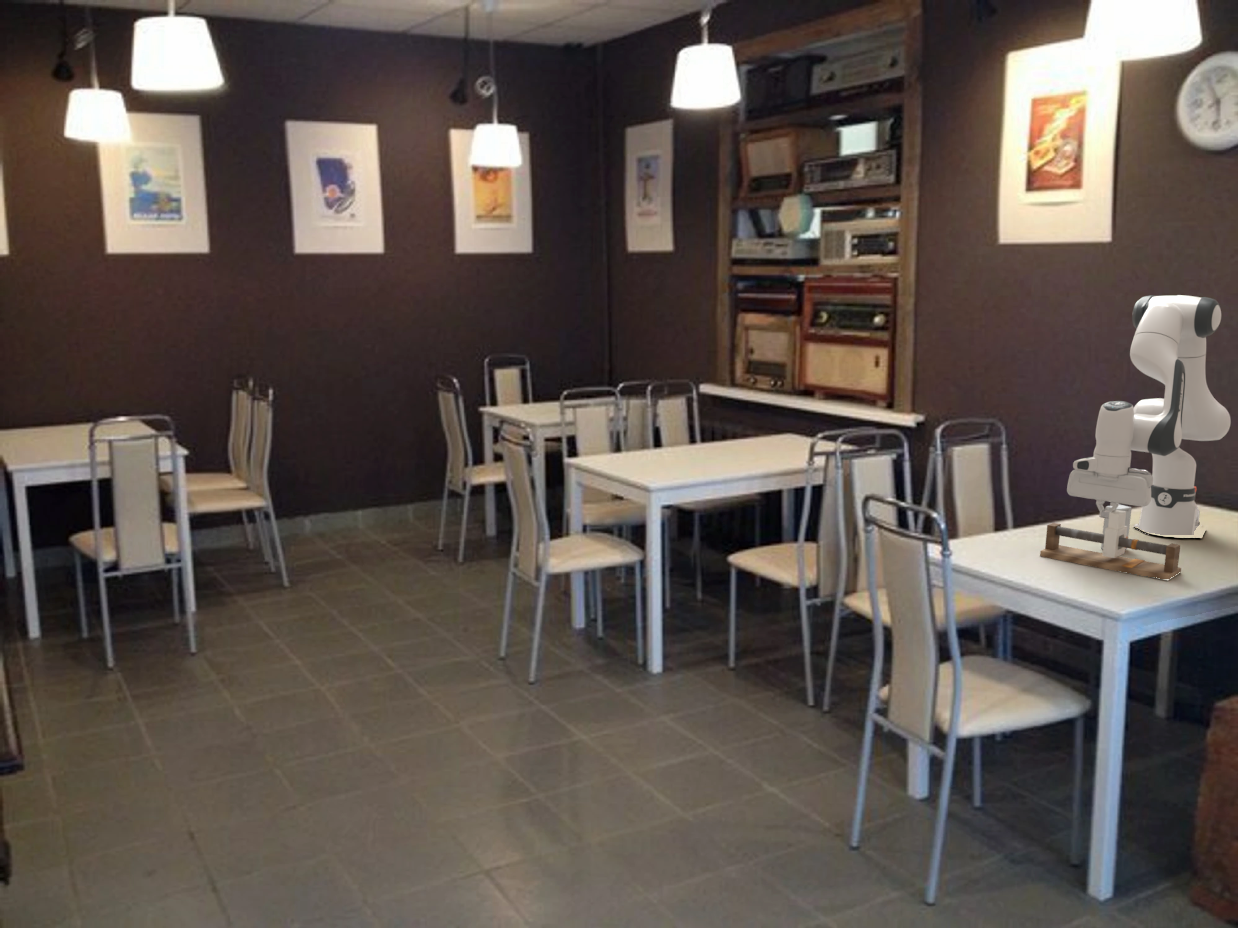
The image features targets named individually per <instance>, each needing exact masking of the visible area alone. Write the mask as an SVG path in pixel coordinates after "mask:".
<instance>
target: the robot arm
mask: <svg viewBox="0 0 1238 928" xmlns="http://www.w3.org/2000/svg"><path fill="white" fill-rule="evenodd" d="M1221 310H1222V309H1221V305H1220V303H1219V302H1218V301H1217V299H1215V298H1211V297H1207V296H1203V297H1199V296H1192V295H1187V294H1185V295H1181V294H1177V295H1145V296H1142V297H1141V298H1140V299H1138V300H1137V301H1136V302H1135V304H1134V306H1133V310H1132V313H1131V314H1132V316H1131V320H1132V325H1133V327H1134V328H1135V329H1136V330H1135V332H1134V335H1133V339H1132V342H1131V345H1130V351H1129V357H1130V361H1131V363H1132V365H1134V367H1135V368H1136V369H1137V370H1139V371H1140V373H1142V374H1144V375H1145V376H1148V377H1150V378H1152V379H1153V380H1154V379H1155V380H1156V381H1158V382H1159V383H1162V384H1163V385H1164V386H1165V387H1164V388H1165V389H1164V396H1163V397H1164V398H1161V397H1159V398H1157V397H1155V398H1145V399H1141V400H1139V401H1138V402H1137V403H1136V404H1135V405H1133V404H1132V403H1130V402H1128V401H1123V400H1115V401H1114V400H1112V401H1107V402H1105V403H1103V404H1102V405H1101V406H1100V409H1099V412H1098V416H1097V421H1096V427H1095V436H1094V437H1095V440H1096V441H1095V443H1096V444H1095V447H1094V450H1093V454H1092V455H1093V456H1088V457H1084V458H1080V459H1076V460H1074V462H1072V467H1073V470H1072V471H1071V472H1070V473H1069V477H1068V480H1067V486H1066V487H1067V488H1066V492H1067V494H1068V495H1069V496H1071V497H1076V498H1077V497H1078V498H1084V499H1089V500H1090V499H1091V500H1096V502H1095V505H1096V507H1097V509H1098V511H1099V518H1100V519H1101V518H1102V519H1104V518H1107V519H1109V513H1110V512H1113V511H1115V510H1116V508H1117V507H1118V506H1119V505H1126V506H1128V505H1129V506H1134V507H1141V509H1140V516H1139V521H1138V523H1134V524H1133V526H1134V527H1138V528H1139V529H1141V530H1144V531H1145V532H1149V533H1155V534H1160V535H1194V531H1195V530H1196V528H1197V527H1198V526H1199V525H1200V512H1201V511H1200V509H1199V507H1198V505H1197V504H1196V501H1195V500H1196V495H1197V494H1196V493H1197V490H1198V489H1197V486H1195V480H1196V471H1197V462H1196V460H1195V458H1194V457H1193V456H1192V455H1191V454H1190V453H1188V452H1187V451H1185V450H1183V449H1182V448H1180V447H1181V443H1182V440H1188V441H1189V440H1190V441H1199V442H1209V441H1211V442H1212V441H1219V440H1221V439H1223V437H1225V436H1226V435H1227V433H1228V432H1229V431H1230V427H1231V423H1232V422H1231V414H1230V413H1229V411H1228V409H1227V408H1226V406H1223V404H1221V403H1220V402H1218V400H1216V398H1214V396H1213V394H1212V393H1211V391H1210V389H1209V387H1208V383H1207V377H1206V358H1207V337H1208V336H1211V335H1213V333H1215V332H1216V331H1217V330H1218V329H1219V327H1220V326H1219V325H1220V323H1221V320H1222V311H1221ZM1132 451H1136V452H1141V453H1144V452H1145V453H1149V454H1151V456H1152V473H1151V472H1150V471H1148V470H1147V469H1139V468H1134V467H1133V468H1132V467H1131V461H1132ZM1105 502H1110V503H1109V506H1113V507H1112V508H1111V509H1110V511H1106V510H1105V507H1104V504H1105Z"/></svg>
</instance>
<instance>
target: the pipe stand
mask: <svg viewBox="0 0 1238 928" xmlns="http://www.w3.org/2000/svg"><path fill="white" fill-rule="evenodd" d="M1104 535H1105V534H1103V533H1100V532H1093V531H1087V530H1081V529H1075V528H1071V527H1070V528H1069V527H1064V526H1062V524H1061V523H1058V522H1052V523H1049V524H1047V525H1046V535H1045V536H1046V537H1045V546H1044V547H1045V548H1043V549H1041V550H1040V552H1039V554H1040V555H1039V557H1041V556H1042V557H1043V558H1048V559H1052V560H1058V561H1062V562H1067V563H1072V564H1073V563H1074V564H1079V565H1083V566H1084V565H1085V566H1088V567H1094V568H1099V569H1104V570H1108V569H1109V571H1113V570H1114V571H1113V572H1118V571H1121V572H1120V573H1123V572H1127V573H1126V574H1129V573H1131V574H1130V575H1134V574H1137V575H1136V576H1139V575H1141V576H1140V577H1144V576H1148V577H1147V578H1149V577H1155V578H1156V577H1157V578H1160V579H1170V578H1171V577H1173V576H1175V575H1176V574H1178V573H1179V572H1181V573H1182V567H1180V566H1179V560H1180V550H1181V544H1178V543H1170V544H1168V545H1166V544H1163V543H1162V544H1161V543H1156V542H1150V541H1146V540H1145V541H1144V540H1139V539H1137V538H1135V539H1134V538H1132V539H1131V538H1129V537H1128V538H1122V537H1119V542H1118V546H1119V547H1125V548H1127V549H1131V550H1133V551H1134V550H1135V551H1143V552H1147V553H1153V554H1159V555H1164V557H1165V559H1164V564H1163V563H1157V562H1151V561H1146V560H1144V559H1140V558H1130V557H1125V556H1124V557H1123V556H1121V555H1120V556H1118V557H1116V558H1111V557H1106V556H1102V555H1103V552H1098V551H1094V550H1092V551H1091V550H1087V549H1083V548H1078V547H1077V548H1076V547H1072V546H1071V547H1070V546H1067V545H1062V544H1061V545H1060V537H1065V538H1069V539H1071V538H1072V539H1077V540H1081V541H1082V540H1083V541H1087V542H1092V543H1098V544H1101V543H1103V544H1104Z"/></svg>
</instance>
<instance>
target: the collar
mask: <svg viewBox="0 0 1238 928" xmlns="http://www.w3.org/2000/svg"><path fill="white" fill-rule="evenodd" d="M1125 519H1126V511H1120V510H1115V511H1113V512H1110V513H1109V523H1108V528H1105V535H1104V545H1103V549H1102V553H1103V555H1102V556H1106V557H1111V558H1116V557H1118V556H1120V557H1121V555H1124V554H1125V553H1126V550H1125V547H1119V546H1118V542H1119V537H1122V538H1126V535H1127V526H1125Z"/></svg>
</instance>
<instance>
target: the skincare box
mask: <svg viewBox="0 0 1238 928" xmlns="http://www.w3.org/2000/svg"><path fill="white" fill-rule="evenodd" d="M1112 507H1113V506H1110V505H1107V506H1105V507H1104V509H1105V510H1106V511H1110V509H1111V508H1112ZM1132 509H1133V508H1132V506H1128V505H1125V504H1119V506H1118V507H1117V508H1116V510H1120V511H1126V519H1125V526H1127V535H1126V538H1128V539H1129V536H1130V535H1129V534H1130V526H1131V519H1132V518H1131V516H1132ZM1103 519H1104V520H1103V526H1102V528H1103V529H1102V534H1105V528H1108V523H1109V519H1107V518H1103ZM1103 545H1104V544H1103V543H1100V549H1101V550H1103ZM1125 549H1126V550H1127V549H1128V548H1125Z"/></svg>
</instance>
